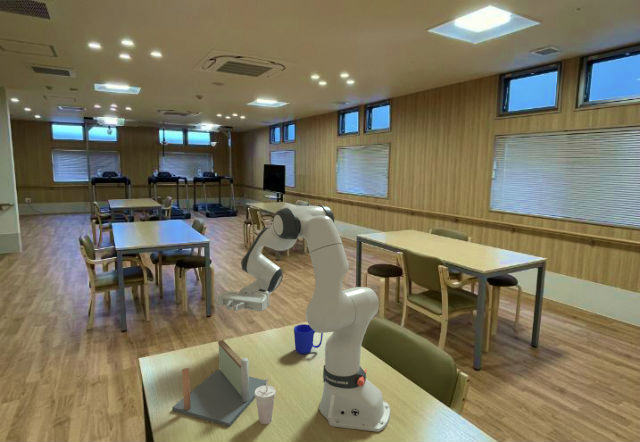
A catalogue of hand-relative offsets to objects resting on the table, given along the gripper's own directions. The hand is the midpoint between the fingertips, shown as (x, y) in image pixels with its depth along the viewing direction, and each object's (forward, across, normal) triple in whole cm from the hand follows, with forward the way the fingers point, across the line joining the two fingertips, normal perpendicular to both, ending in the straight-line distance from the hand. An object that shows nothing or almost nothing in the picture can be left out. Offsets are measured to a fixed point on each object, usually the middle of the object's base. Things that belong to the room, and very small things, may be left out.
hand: (231, 308), depth 143 cm
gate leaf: (+11, +6, +22) cm, 25 cm away
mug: (-23, +22, +24) cm, 40 cm away
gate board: (+17, +7, +24) cm, 30 cm away
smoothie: (+22, +26, +24) cm, 42 cm away
